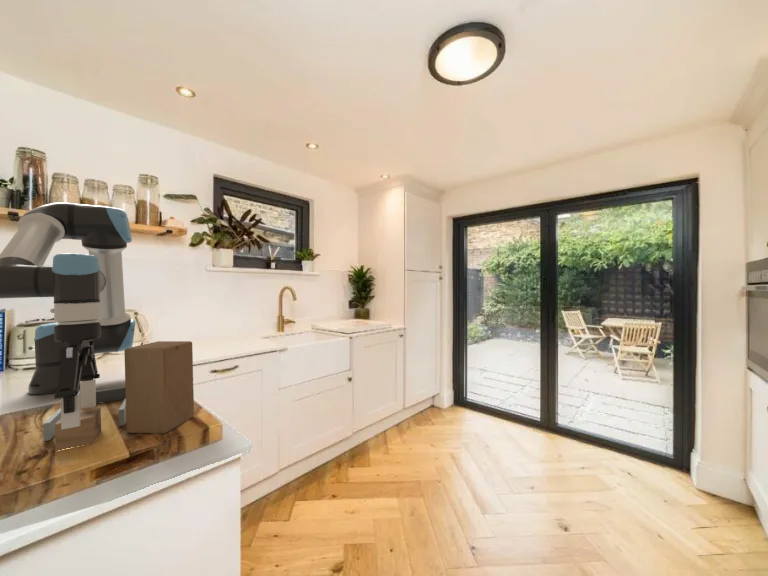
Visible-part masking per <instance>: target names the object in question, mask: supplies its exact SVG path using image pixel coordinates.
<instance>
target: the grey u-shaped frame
mask: <svg viewBox="0 0 768 576" xmlns="http://www.w3.org/2000/svg"><path fill="white" fill-rule="evenodd" d="M78 394H80V390H78ZM108 401H111V402H116V401H122V404H121V405H120V406H119V409H118V427H122V426H125V424H126V391H125V386H118V387H112V388H104V389H98V390H97V389H96V403H99V402H105V403H109V402H108ZM99 404H100V403H99ZM60 418H61V407H60V408H59V409H57V410H56V411H55V412H54V413H53V414H51V416H50V417H48V419H46V420H45V421H44V422H43V442H47V441H51V440H52V439H53V438H54V437H55V424H56V423H57V422H58V420H59V419H60Z"/></svg>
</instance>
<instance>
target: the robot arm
mask: <svg viewBox="0 0 768 576" xmlns="http://www.w3.org/2000/svg"><path fill="white" fill-rule="evenodd" d="M61 240H76V241H77V240H78V241H81V246H82V247H83V248H84V249H86V250H87V251H88V254H87V253H75V252H74V253H73V252H72V253H70V252H68V253H57V254H55V255H54V256H53V258H52V265H44V264H45V263H46V261H47V259H48V257H49V256H50V253H51V251H52V249H53V247H54V246H55V243H58V242H59V241H61ZM131 242H132V231H131V226H130V222H129V217H128V214H127V212H126V211H125V210H124V209H123V208H118V207H113V206H107V205H98V204H97V205H93V204H83V203H72V202H52V203H48V204H43V205H41V206H38V207H35V208H32V209H30V210H29V211H26V212H25V213H24V214H23V215H22V216H21V217H20V218H19V219H18V222H17V231H16V232H15V233H14V235H13V236H12V238H11V239H10V240H9V242H8V243H7V244H6V246H5V247H4V248H3V250H2V251H1V253H0V299H25V298H27V299H28V298H53V308H50V311H49V312H50V313H51V314H53V321H54V322H49V323H45V324H41V325H39V326H37V327H36V328H35V330H34V339H33V341H34V357H35V358H34V359H35V360H34V361H35V369H34V373H33V375H32V377H31V379H30V382H29V384H28V386H27V387H28V388H27V391H28V394H29V395H47V394H54V396H53V397H54V399H55V400H57V399H60V408H61V430H62V429H67V428H73V427H78V426H80V425H81V423H80V409H86V408H92V407H97V404H96V391H97V387H96V383H97V382H96V381H97V380H96V379H100V377H101V375H100V373H99V371H98V366H97V361H96V354H106V353H107V354H108V353H118V352H123V351H125V349H127V348H131V347H133V343H134V337H135V329H136V323H137V322H136V320H135V319H133V318H132V319H131V315H130V314H129V313H127V312H126V307H125V306H126V305H125V289H124V287H125V286H124V285H125V284H124V271H123V270H124V269H123V254H122V253H123V251H124V250H125V249H127V247H128V244H129V243H131ZM79 391H80V394H78V392H79Z"/></svg>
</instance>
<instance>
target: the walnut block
mask: <svg viewBox="0 0 768 576" xmlns="http://www.w3.org/2000/svg"><path fill="white" fill-rule="evenodd" d="M80 423H81V425H80V426H78V427H73V428H67V429H62V430H61V418H60V419H59V420H58V422H57V423H56V424H55V435H54V438H55V441H54V442H55V452H56V451H58V450H62V449H66V448H71V447H77V446H82V445H87V444H91V445H94V444H95V443H96V442H97V440H96V439H98V438H99V436H100V433H102V432H101V431H102V406H101V405H98V406H95V407H89V408H83V409H80ZM97 437H98V438H97ZM93 443H94V444H93ZM87 446H88V445H87ZM82 447H83V446H82Z"/></svg>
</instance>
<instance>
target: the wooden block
mask: <svg viewBox="0 0 768 576" xmlns="http://www.w3.org/2000/svg"><path fill="white" fill-rule="evenodd" d="M193 357H194V356H193V342H192V341H188V340H187V341H186V340H183V341H181V340H178V341H176V340H175V341H172V340H171V341H165V340H164V341H162V340H161V341H160V340H159V341H155V342H150V343H144V344H141V345H136V346H132V347H131V348H127V349H125V350H124V381H125V384H124V385H125V391H126V422H125V424H126V433H131V434H134V433H135V434H160V435H161V434H162V435H163V434H166V433H168V432H170V431H172V430H174V429H175V428H177V427H179V426H180V425H182V424H183V423H185V422H187V421H189V420H190V419H191V418H193V417H194V415H195V404H194V403H195V402H194V401H195V398H194V396H195V395H194V361H193V360H194V359H193Z"/></svg>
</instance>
